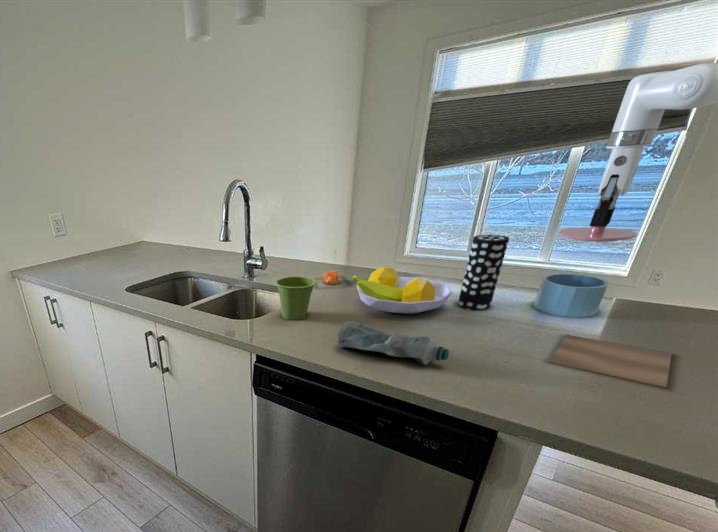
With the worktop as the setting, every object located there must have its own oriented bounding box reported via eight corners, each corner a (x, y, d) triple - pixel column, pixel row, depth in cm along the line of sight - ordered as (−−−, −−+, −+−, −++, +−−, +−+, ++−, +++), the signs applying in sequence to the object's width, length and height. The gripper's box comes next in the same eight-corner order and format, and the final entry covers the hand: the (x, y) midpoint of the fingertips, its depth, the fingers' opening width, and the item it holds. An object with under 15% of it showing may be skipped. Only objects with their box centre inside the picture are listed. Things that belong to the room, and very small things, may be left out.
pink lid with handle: (563, 230, 112) (574, 198, 108) (638, 233, 102) (652, 198, 98) (551, 241, 103) (562, 206, 99) (631, 245, 93) (647, 207, 89)
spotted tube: (484, 314, 116) (503, 242, 106) (452, 308, 121) (468, 239, 111) (493, 305, 120) (513, 236, 110) (463, 300, 126) (479, 233, 116)
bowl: (539, 299, 122) (549, 271, 118) (599, 307, 113) (612, 277, 109) (528, 312, 114) (538, 283, 110) (591, 322, 105) (604, 291, 101)
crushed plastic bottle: (328, 352, 103) (432, 380, 86) (330, 325, 99) (439, 348, 83) (353, 339, 111) (453, 362, 94) (356, 313, 108) (460, 333, 91)
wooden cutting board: (565, 337, 99) (566, 334, 99) (670, 357, 88) (671, 353, 87) (548, 364, 89) (549, 361, 89) (664, 390, 77) (666, 387, 77)
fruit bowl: (434, 293, 134) (442, 258, 128) (457, 323, 112) (466, 283, 106) (346, 293, 141) (349, 260, 135) (350, 322, 119) (354, 284, 113)
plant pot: (298, 327, 119) (299, 289, 113) (267, 318, 127) (267, 283, 121) (321, 315, 125) (324, 279, 119) (291, 307, 133) (291, 273, 127)
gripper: (650, 140, 85) (614, 231, 94) (656, 136, 94) (623, 220, 103) (602, 143, 90) (573, 230, 99) (613, 139, 99) (585, 219, 108)
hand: (599, 224), depth 101 cm, fingers closed on pink lid with handle, 2 cm apart
